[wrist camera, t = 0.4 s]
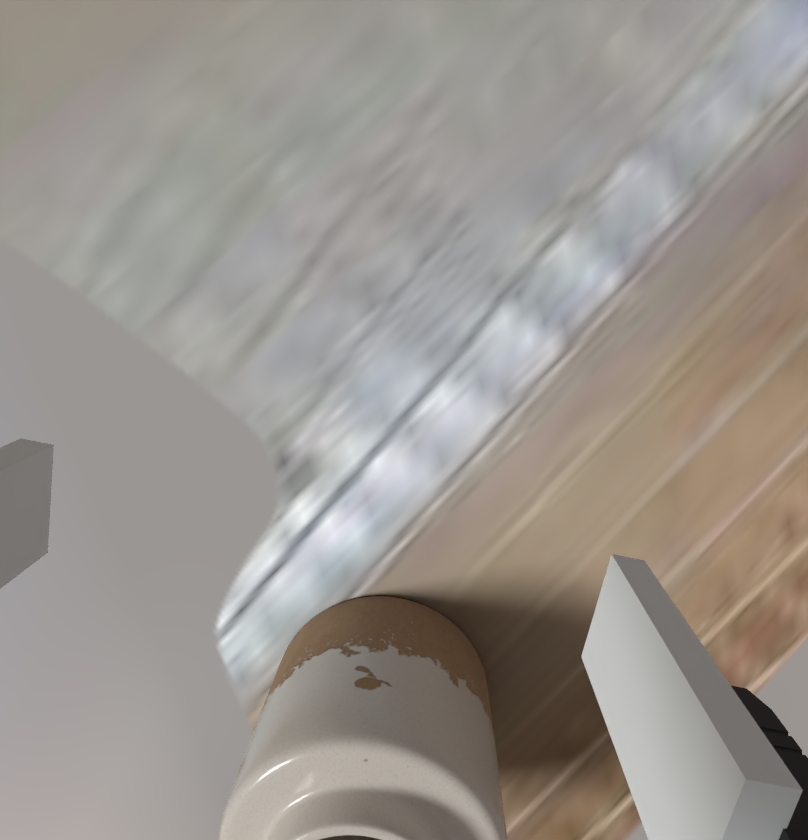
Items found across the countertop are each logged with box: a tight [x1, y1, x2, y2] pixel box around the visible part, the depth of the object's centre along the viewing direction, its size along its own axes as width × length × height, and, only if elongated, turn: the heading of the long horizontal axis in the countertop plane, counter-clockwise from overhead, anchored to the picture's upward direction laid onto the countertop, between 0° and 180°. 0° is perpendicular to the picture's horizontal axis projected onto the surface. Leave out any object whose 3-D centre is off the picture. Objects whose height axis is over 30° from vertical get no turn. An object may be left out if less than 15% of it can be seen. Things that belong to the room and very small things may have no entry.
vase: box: [219, 596, 507, 840], centre depth 39 cm, size 15×15×17 cm
